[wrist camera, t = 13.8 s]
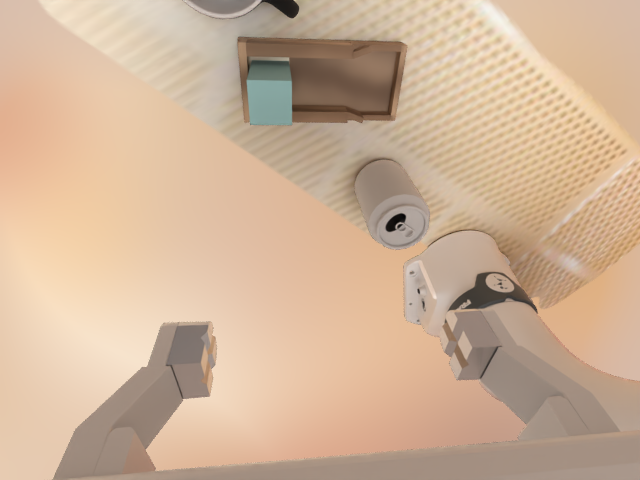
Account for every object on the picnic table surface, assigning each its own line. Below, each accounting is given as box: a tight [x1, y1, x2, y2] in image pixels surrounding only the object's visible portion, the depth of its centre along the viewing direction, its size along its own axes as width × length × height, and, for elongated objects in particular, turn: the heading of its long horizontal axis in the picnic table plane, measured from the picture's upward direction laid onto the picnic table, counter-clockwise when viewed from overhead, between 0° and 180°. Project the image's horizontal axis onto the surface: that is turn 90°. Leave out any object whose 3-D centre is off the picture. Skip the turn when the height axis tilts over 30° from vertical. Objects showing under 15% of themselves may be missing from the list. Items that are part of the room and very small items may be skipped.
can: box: [354, 159, 430, 250], centre depth 46 cm, size 8×8×12 cm
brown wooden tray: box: [237, 37, 407, 123], centre depth 40 cm, size 8×18×4 cm, turn 88°
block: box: [247, 60, 292, 125], centre depth 36 cm, size 4×4×9 cm
